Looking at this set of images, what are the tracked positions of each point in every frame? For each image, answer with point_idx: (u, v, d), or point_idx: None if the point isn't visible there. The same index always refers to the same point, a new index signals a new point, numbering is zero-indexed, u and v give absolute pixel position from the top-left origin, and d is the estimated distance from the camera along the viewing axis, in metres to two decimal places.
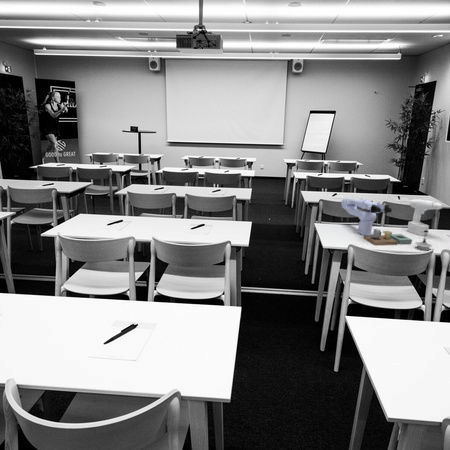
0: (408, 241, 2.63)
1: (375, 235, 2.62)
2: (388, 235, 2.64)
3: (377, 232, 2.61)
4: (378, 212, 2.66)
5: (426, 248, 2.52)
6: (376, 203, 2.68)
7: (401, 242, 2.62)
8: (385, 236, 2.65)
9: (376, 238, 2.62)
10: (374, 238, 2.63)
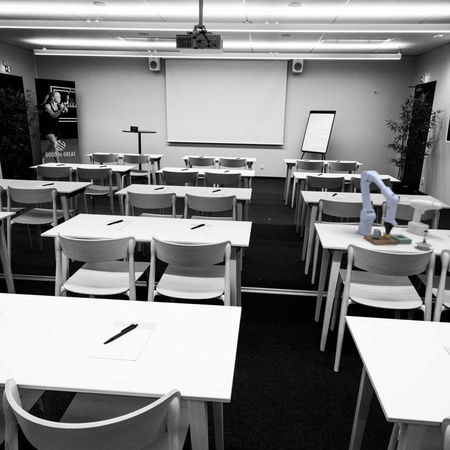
0: (408, 241, 2.63)
1: (375, 235, 2.62)
2: (388, 237, 2.65)
3: (377, 232, 2.61)
4: (385, 221, 2.63)
5: (426, 248, 2.52)
6: None
7: (401, 242, 2.62)
8: (385, 238, 2.66)
9: (376, 238, 2.62)
10: (374, 238, 2.63)
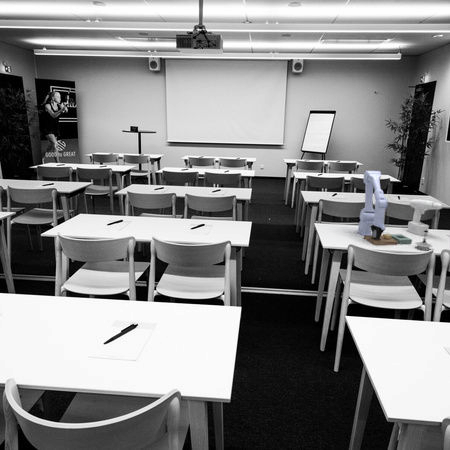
0: (408, 241, 2.63)
1: (375, 235, 2.62)
2: (388, 238, 2.65)
3: None
4: (373, 224, 2.62)
5: (426, 248, 2.52)
6: None
7: (401, 242, 2.62)
8: None
9: (376, 238, 2.62)
10: (374, 238, 2.63)
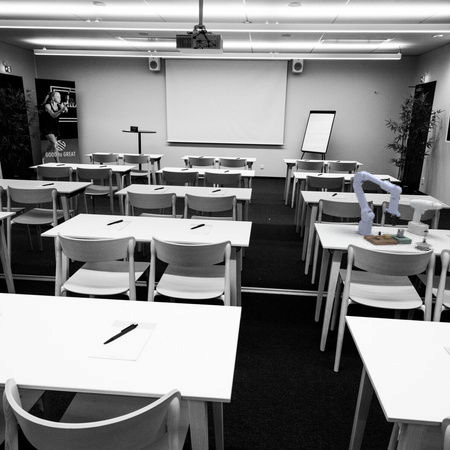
0: (408, 241, 2.63)
1: (399, 235, 2.66)
2: (388, 238, 2.65)
3: (401, 232, 2.65)
4: (388, 211, 2.67)
5: (426, 248, 2.52)
6: None
7: (401, 242, 2.62)
8: None
9: None
10: None
